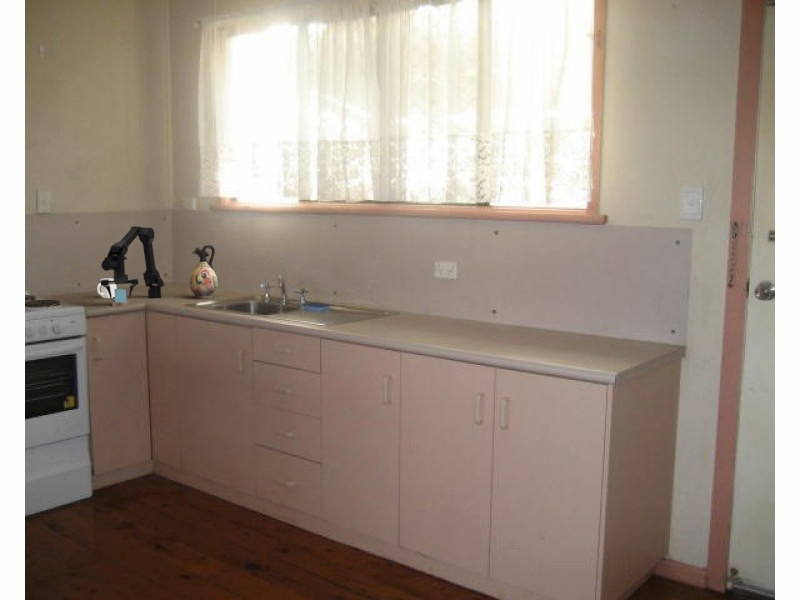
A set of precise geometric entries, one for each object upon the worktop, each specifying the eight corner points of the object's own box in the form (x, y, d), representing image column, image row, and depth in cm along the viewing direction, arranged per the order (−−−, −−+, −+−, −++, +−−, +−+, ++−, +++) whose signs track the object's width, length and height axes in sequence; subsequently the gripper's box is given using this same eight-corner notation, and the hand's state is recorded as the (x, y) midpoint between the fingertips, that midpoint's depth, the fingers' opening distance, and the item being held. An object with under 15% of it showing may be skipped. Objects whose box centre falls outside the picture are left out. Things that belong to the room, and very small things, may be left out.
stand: (128, 303, 426) (128, 290, 425) (128, 305, 419) (128, 292, 418) (112, 303, 424) (112, 290, 423) (112, 306, 416) (111, 292, 415)
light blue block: (126, 300, 424) (125, 288, 424) (126, 302, 419) (125, 289, 418) (115, 301, 423) (114, 288, 422) (115, 302, 418) (114, 290, 417)
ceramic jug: (191, 300, 438) (189, 245, 434) (189, 296, 453) (187, 243, 449) (222, 298, 444) (221, 245, 440) (219, 295, 458) (218, 243, 454)
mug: (102, 299, 440) (101, 281, 438) (92, 298, 444) (91, 280, 442) (120, 297, 450) (119, 278, 448) (110, 295, 454) (109, 277, 453)
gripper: (99, 270, 408) (101, 301, 410) (137, 269, 414) (139, 299, 416) (100, 268, 418) (101, 298, 421) (137, 267, 424) (139, 296, 427)
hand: (120, 298), depth 421 cm, fingers open, 9 cm apart
